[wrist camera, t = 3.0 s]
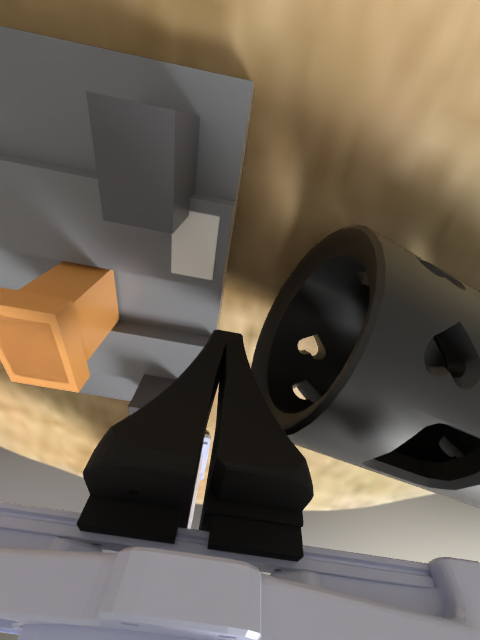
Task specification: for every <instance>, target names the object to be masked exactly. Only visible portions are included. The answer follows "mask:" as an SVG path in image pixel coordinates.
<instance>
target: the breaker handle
mask: <svg viewBox="0 0 480 640" xmlns="http://www.w3.org/2000/svg"><path fill="white" fill-rule="evenodd" d="M118 321H119V311H118V303H117V295H116V287H115V279H114V271H113V270H110V269H104V268H99V267H94V266H88V265H83V264H77V263H72V262H66V261H62V262H61V263H59V264H58V265H56V266H55V267H53V268H52V269H50V270H48V271H47V272H45V273H44V274H42V275H41V276H39V277H38V278H36V279H34V280H33V281H31V282H30V283H28V284H27V285H25V286H23V287H22V288H20V289H19V290H13V289H7V288H2V287H0V361H1V362H2V364H3V366H4V368H5V370H6V372H7V374H8V376H9V378H10V380H11V382H18V383H24V384H30V385H36V386H42V387H48V388H54V389H60V390H66V391H72V392H78V393H79V391H80V390H81V388H82V387H83V386H84V384H85V383H86V381H87V380H88V378H89V377H90V373H89V369H88V365H87V361H88V360H89V358H90V357H91V356H92V354H93V353H94V352H95V350H96V349H97V348H98V347H99V345H100V344H101V343H102V341H103V340H104V339H105V337H106V336H107V335H108V334H109V332H110V331H111V330H112V328H113V327H114V326H115V324H116V323H117V322H118Z"/></svg>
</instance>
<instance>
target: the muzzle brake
mask: <svg viewBox="0 0 480 640" xmlns="http://www.w3.org/2000/svg"><path fill="white" fill-rule="evenodd" d="M313 335H314V338H315V340H316V342H317V345H318V353H317V354H316V355H314V356H312V355H311V354H310V353H309V352H307V351H305V350H302V351H299V350H298V346H297V345H298V342H299V340H301V339H303V338H306V337H309V336H313ZM251 371H252V374H253V376H254V379H255V381H256V384H257V386H258V388H259V390H260V392H261V394H262V396H263V398H264V400H265V402H266V404H267V405H268V407H269V409H270V411H271V412H272V414H273V415H274V417H275V418H276V420H277V422H278V423H279V425H280V426H281V428H282V429H283V431H284V432H285V433H286V435H287V436H288V437H289V439H290V440H291V441H292V443H293V444H295V445H298V446H300V447H303V448H306V449H309V450H312V451H315V452H318V453H321V454H324V455H327V456H330V457H332V458H335V459H338V460H341V461H344V462H347V463H350V464H353V465H356V466H359V467H362V468H364V469H367V470H370V471H373V472H376V473H379V474H382V475H385V476H388V477H391V478H394V479H396V480H399V481H402V482H405V483H408V484H411V485H414V486H417V487H420V488H423V489H426V490H428V491H431V492H434V493H437V494H440V495H443V496H446V497H449V498H452V499H455V500H458V501H461V502H463V503H466V504H469V505H472V506H475V507H478V508H480V292H479V291H477V290H475V289H474V288H472V287H470V286H468V285H467V284H465V283H463V282H461V281H460V280H458V279H456V278H454V277H453V276H451V275H449V274H448V273H446V272H444V271H442V270H441V269H439V268H437V267H435V266H434V265H432V264H430V263H428V262H426V261H423V260H421V258H420V257H418V256H416V255H414V254H413V253H411V252H409V251H407V250H406V249H404V248H402V247H401V246H399V245H397V244H395V243H394V242H392V241H390V240H388V239H387V238H385V237H383V236H381V235H380V234H378V233H376V232H374V231H373V230H371V229H369V228H367V227H366V226H350V227H346V228H342V229H340V230H338V231H336V232H334V233H332V234H330V235H328V236H327V237H326V238H324V239H323V240H322V241H320V242H319V243H318V244H317V245H316V246H315V247H313V248H312V249H311V250H310V251H309V252H308V253H307V254H306V256H305V257H304V258H303V259H302V260H301V261H300V263H299V264H298V265H297V267H296V268H295V270H294V271H293V273H292V274H291V275H290V277H289V278H288V280H287V281H286V283H285V284H284V286H283V287H282V289H281V290H280V292H279V294H278V296H277V297H276V299H275V301H274V303H273V305H272V307H271V309H270V311H269V313H268V315H267V318H266V320H265V323H264V325H263V328H262V330H261V333H260V336H259V339H258V342H257V345H256V349H255V353H254V357H253V362H252V366H251ZM295 387H297V388H298V390H299V391H300V392H301V393H302V395H303V396H304V397H305V398H306V400H303V399H300V398H299V397H297V396H296V395H295V394H294V392H293V388H295Z"/></svg>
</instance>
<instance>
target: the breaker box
mask: <svg viewBox="0 0 480 640" xmlns="http://www.w3.org/2000/svg"><path fill="white" fill-rule="evenodd" d="M254 91H255V87H254V82H253V81H249V80H245V79H240V78H236V77H231V76H227V75H222V74H218V73H213V72H208V71H204V70H199V69H195V68H190V67H186V66H181V65H177V64H172V63H168V62H163V61H158V60H154V59H149V58H145V57H140V56H136V55H131V54H127V53H122V52H118V51H113V50H108V49H104V48H99V47H95V46H90V45H86V44H81V43H77V42H72V41H67V40H63V39H58V38H54V37H49V36H45V35H40V34H36V33H31V32H27V31H22V30H17V29H13V28H8V27H4V26H0V287H2V288H7V289H13V290H19V289H20V288H22V287H23V286H25V285H27V284H28V283H30V282H31V281H33V280H34V279H36V278H38V277H39V276H41V275H42V274H44V273H45V272H47V271H48V270H50V269H52V268H53V267H55V266H56V265H58V264H59V263H61V262H62V261H66V262H72V263H77V264H83V265H88V266H94V267H99V268H104V269H110V270H113V271H114V279H115V287H116V295H117V303H118V311H119V321H118V322H117V323H116V324H115V326H114V327H113V328H112V330H111V331H110V332H109V334H108V335H107V336H106V337H105V339H104V340H103V341H102V343H101V344H100V345H99V347H98V348H97V349H96V350H95V352H94V353H93V354H92V356H91V357H90V358H89V360H88V361H87V365H88V369H89V373H90V377H89V378H88V380H87V381H86V383H85V384H84V386H83V387H82V388H81V390H80V391H79V393H83V394H89V395H95V396H101V397H107V398H113V399H119V400H125V401H131V402H130V404H129V406H128V409H129V416H130V415H131V414H133V413H134V412H136V411H137V410H139V409H140V408H141V407H143V406H144V405H146V404H147V403H148V402H150V401H151V400H152V399H154V398H155V397H156V396H158V395H159V394H160V393H161V392H162V391H164V390H165V389H166V388H167V387H168V386H169V385H170V384H172V383H173V382H174V381H175V380H176V379H177V378H178V377H179V376H180V375H181V374H182V373H183V372H184V371H185V370H186V369H187V367H188V366H189V365H190V364H191V363H192V362H193V360H194V359H195V358H196V357H197V356H198V354H199V353H200V352H201V350H202V349H203V348H204V346H205V345H206V343H207V342H208V340H209V338H210V336H211V335H212V332H213V331H214V330H218V325H219V319H220V312H221V306H222V299H223V293H224V286H225V280H226V273H227V267H228V260H229V254H230V247H231V241H232V234H233V228H234V221H235V215H236V208H237V202H238V195H239V189H240V182H241V176H242V169H243V163H244V156H245V150H246V143H247V137H248V130H249V124H250V117H251V111H252V104H253V98H254ZM28 385H30V384H28ZM34 386H36V385H34ZM40 387H42V386H40ZM46 388H48V387H46ZM52 389H54V388H52ZM59 390H60V389H59ZM65 391H66V390H65ZM71 392H72V391H71ZM77 393H78V392H77Z"/></svg>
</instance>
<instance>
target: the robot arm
mask: <svg viewBox="0 0 480 640" xmlns="http://www.w3.org/2000/svg"><path fill="white" fill-rule="evenodd" d="M218 384H219V392H218V405H217V419H216V429H215V436H214V442H213V448H212V454H211V460H210V466H209V472H208V478H207V484H206V490H205V496H204V502H203V508H202V514H201V520H200V526H199V530H194V529H191V524H192V518H193V513H194V507H195V502H196V497H197V491H198V486H199V480H203V478H204V473H205V467H206V462H207V457H208V452H209V447H210V442H211V436H210V435H208V434H205V431H206V427H207V423H208V419H209V415H210V412H211V408H212V405H213V401H214V398H215V394H216V391H217V387H218ZM83 477H84V480H85V482H86V485H87V487H88V490H89V492H90V496H89V499H88V500H87V503H86V505H85V507H84V509H83V511H82V513H77V512H70V511H64V510H57V509H50V508H43V507H36V506H29V505H22V504H16V503H9V502H2V501H0V632H3V633H10V634H17V635H19V637H18V639H17V640H480V563H479V562H477V561H471V560H464V559H457V558H451V557H442V558H436V559H433V560H432V561H430V562H429V563H420V562H414V561H407V560H399V559H392V558H386V557H379V556H372V555H365V554H359V553H352V552H345V551H338V550H331V549H324V548H318V547H311V546H304V545H302V534H301V527H302V526H303V515H302V511H303V509H304V508H305V507H306V506H307V505H308V503H309V502H310V501H311V500H312V498H313V496H314V494H313V484H312V480H311V476H310V472H309V468H308V465H307V462H306V459H305V457H304V456H303V455H302V454H301V453H300V451H299V450H298V449H297V448H296V447H295V445H294V444H293V443H292V441H291V440H290V439H289V437H288V436H287V435H286V433H285V432H284V431H283V429H282V428H281V426H280V425H279V423H278V422H277V420H276V418H275V417H274V415H273V414H272V412H271V411H270V409H269V407H268V405H267V404H266V402H265V400H264V398H263V396H262V394H261V392H260V390H259V388H258V386H257V384H256V381H255V379H254V376H253V374H252V371H251V369H250V365H249V362H248V359H247V356H246V352H245V348H244V344H243V336H242V335H241V334H239V333H233V332H228V331H222V330H214V331H213V332H212V335H211V336H210V338H209V340H208V342H207V343H206V345H205V346H204V348H203V349H202V350H201V352H200V353H199V354H198V356H197V357H196V358H195V359H194V360H193V362H192V363H191V364H190V365H189V366H188V367H187V369H186V370H185V371H184V372H183V373H182V374H181V375H180V376H179V377H178V378H177V379H176V380H175V381H174V382H173V383H172V384H170V385H169V386H168V387H167V388H166V389H165V390H164V391H162V392H161V393H160V394H159V395H158V396H156V397H155V398H154V399H152V400H151V401H150V402H148V403H147V404H146V405H144V406H143V407H141V408H140V409H139V410H137V411H136V412H134V413H133V414H131V415H130V416H128V417H126V418H125V419H123V420H122V421H120V422H118V423H117V424H115V425H114V426H112V427H111V428H110V429H109V430H108V431H107V433H106V434H105V435H104V437H103V438H102V440H101V441H100V442H99V444H98V445H97V447H96V448H95V450H94V452H93V454H92V455H91V457H90V459H89V461H88V463H87V465H86V467H85V469H84V471H83ZM260 571H261V572H268V573H271V574H270V575H265V574H262V573H260Z"/></svg>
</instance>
